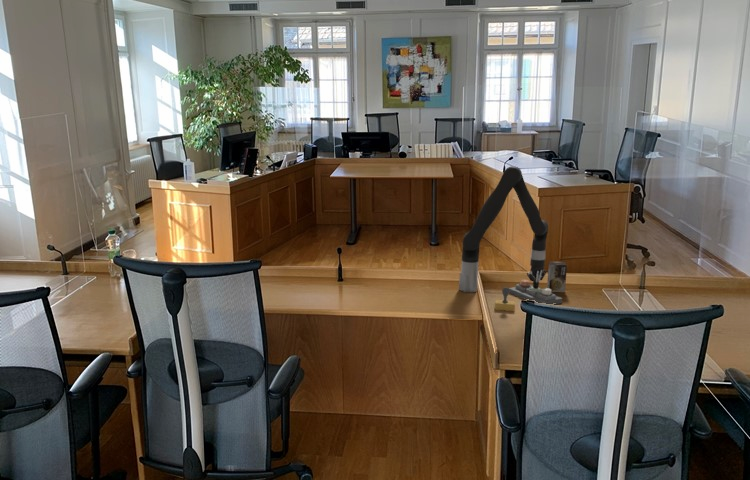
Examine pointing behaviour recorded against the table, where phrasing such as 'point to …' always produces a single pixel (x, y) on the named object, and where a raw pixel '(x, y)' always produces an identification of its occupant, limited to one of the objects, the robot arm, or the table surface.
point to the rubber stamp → (505, 302)
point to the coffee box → (557, 276)
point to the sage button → (535, 289)
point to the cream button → (546, 291)
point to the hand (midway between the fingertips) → (535, 288)
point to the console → (534, 295)
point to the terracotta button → (525, 283)
